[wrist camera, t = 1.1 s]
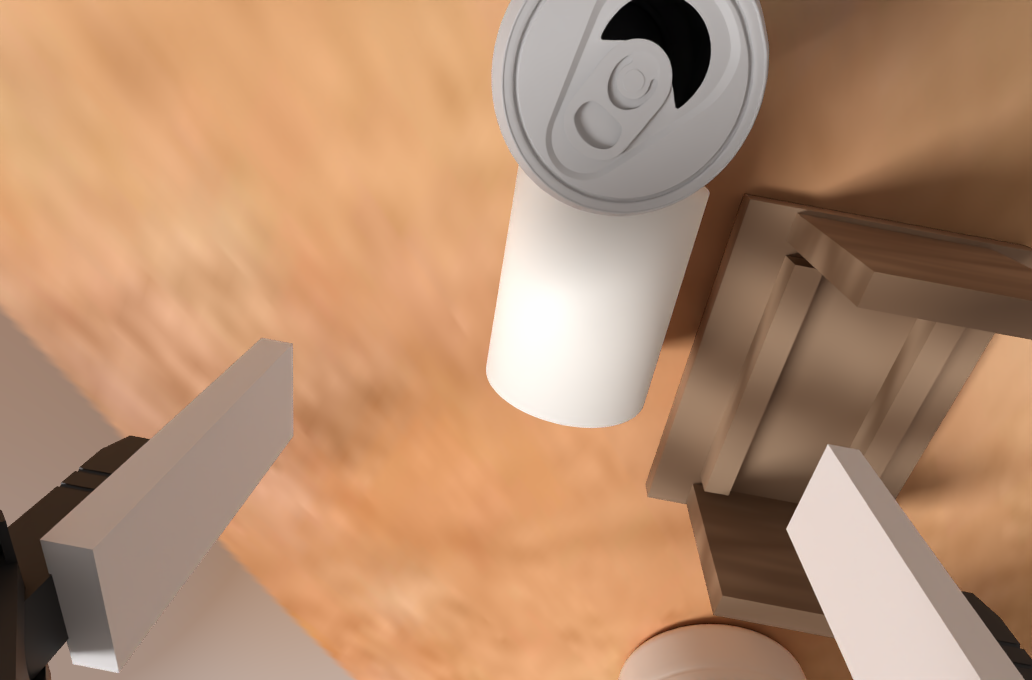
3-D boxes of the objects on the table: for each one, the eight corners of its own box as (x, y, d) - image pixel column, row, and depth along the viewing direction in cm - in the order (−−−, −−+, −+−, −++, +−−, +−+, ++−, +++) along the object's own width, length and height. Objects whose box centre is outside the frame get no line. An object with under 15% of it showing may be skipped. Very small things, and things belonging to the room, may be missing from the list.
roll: (502, 138, 24) (550, 183, 18) (659, 159, 26) (749, 205, 20) (473, 340, 28) (504, 430, 22) (609, 344, 30) (672, 429, 24)
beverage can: (725, 51, 23) (857, 56, 12) (611, 182, 25) (636, 283, 15) (600, -71, 21) (624, -187, 11) (493, 80, 24) (426, 109, 13)
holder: (744, 193, 25) (811, 253, 18) (1025, 245, 25) (1206, 326, 18) (645, 484, 32) (665, 609, 25) (863, 525, 32) (945, 662, 25)
